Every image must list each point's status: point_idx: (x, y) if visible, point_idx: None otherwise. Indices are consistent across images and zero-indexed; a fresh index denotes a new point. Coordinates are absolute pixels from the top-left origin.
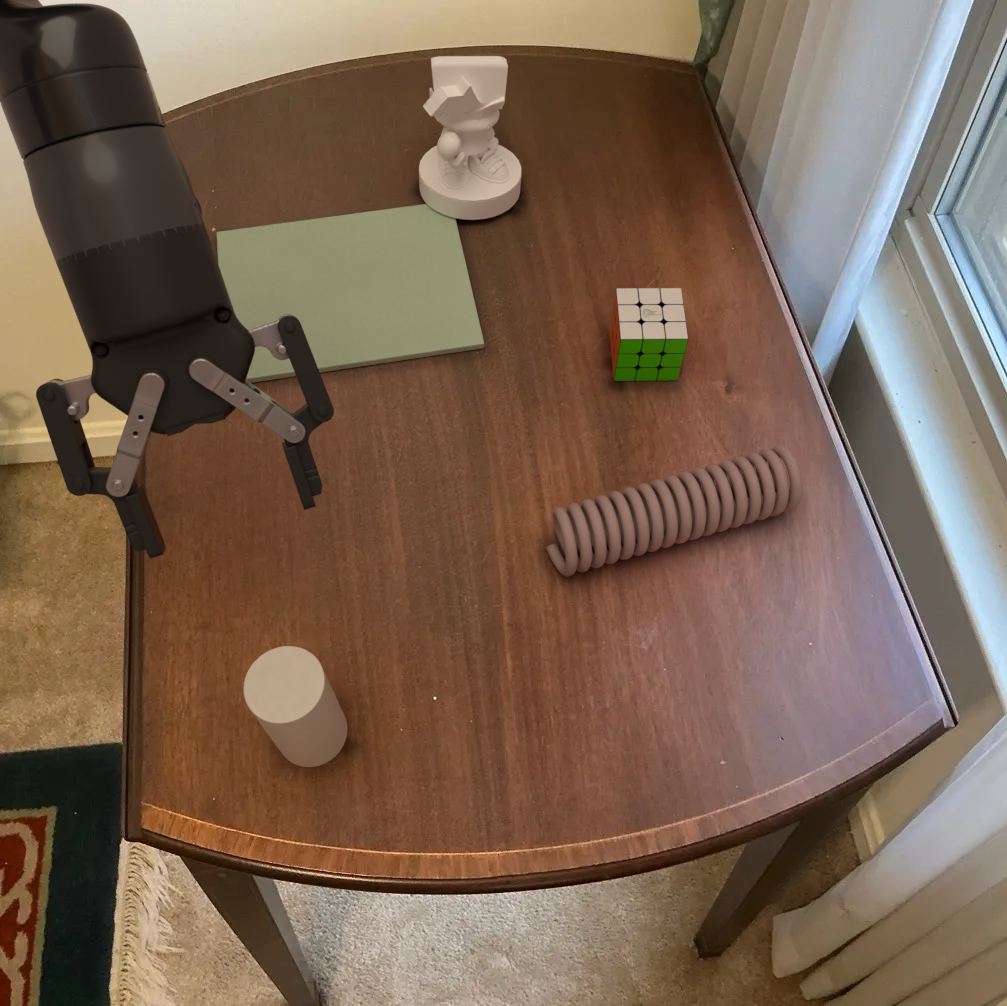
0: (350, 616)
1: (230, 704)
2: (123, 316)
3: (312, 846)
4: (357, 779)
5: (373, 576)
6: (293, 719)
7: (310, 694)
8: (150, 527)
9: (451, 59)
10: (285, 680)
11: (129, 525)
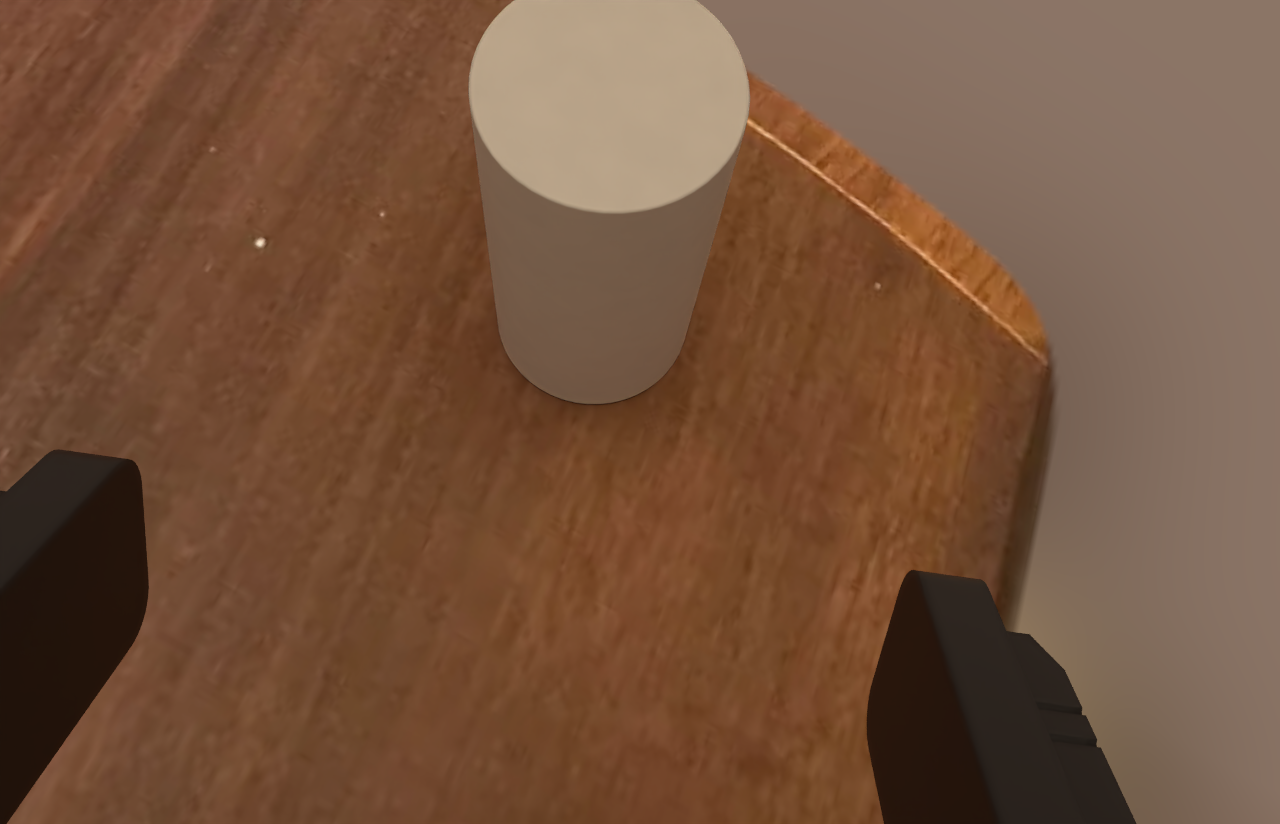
0: (341, 573)
1: (765, 491)
2: None
3: None
4: None
5: (206, 667)
6: None
7: (545, 13)
8: (952, 661)
9: None
10: (601, 90)
11: (1065, 741)
